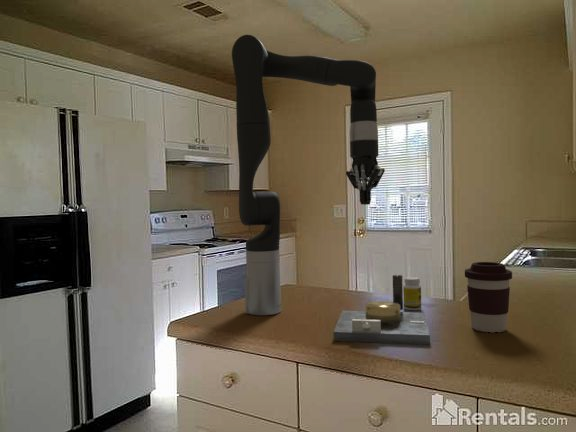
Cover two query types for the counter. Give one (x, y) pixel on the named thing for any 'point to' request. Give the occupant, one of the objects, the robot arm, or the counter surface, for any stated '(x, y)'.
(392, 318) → the cam capstan
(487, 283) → the coffee cup
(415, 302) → the supplement bottle
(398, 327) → the stand
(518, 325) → the counter surface
